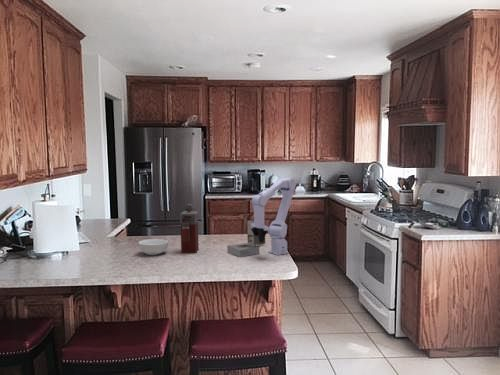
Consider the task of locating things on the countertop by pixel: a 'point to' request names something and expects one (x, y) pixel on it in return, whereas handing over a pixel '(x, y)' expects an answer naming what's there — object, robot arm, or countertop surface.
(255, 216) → the robot arm
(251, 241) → the coffee box
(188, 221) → the glass bottle
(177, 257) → the countertop surface
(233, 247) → the socket plate
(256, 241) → the plug
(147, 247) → the cereal bowl
